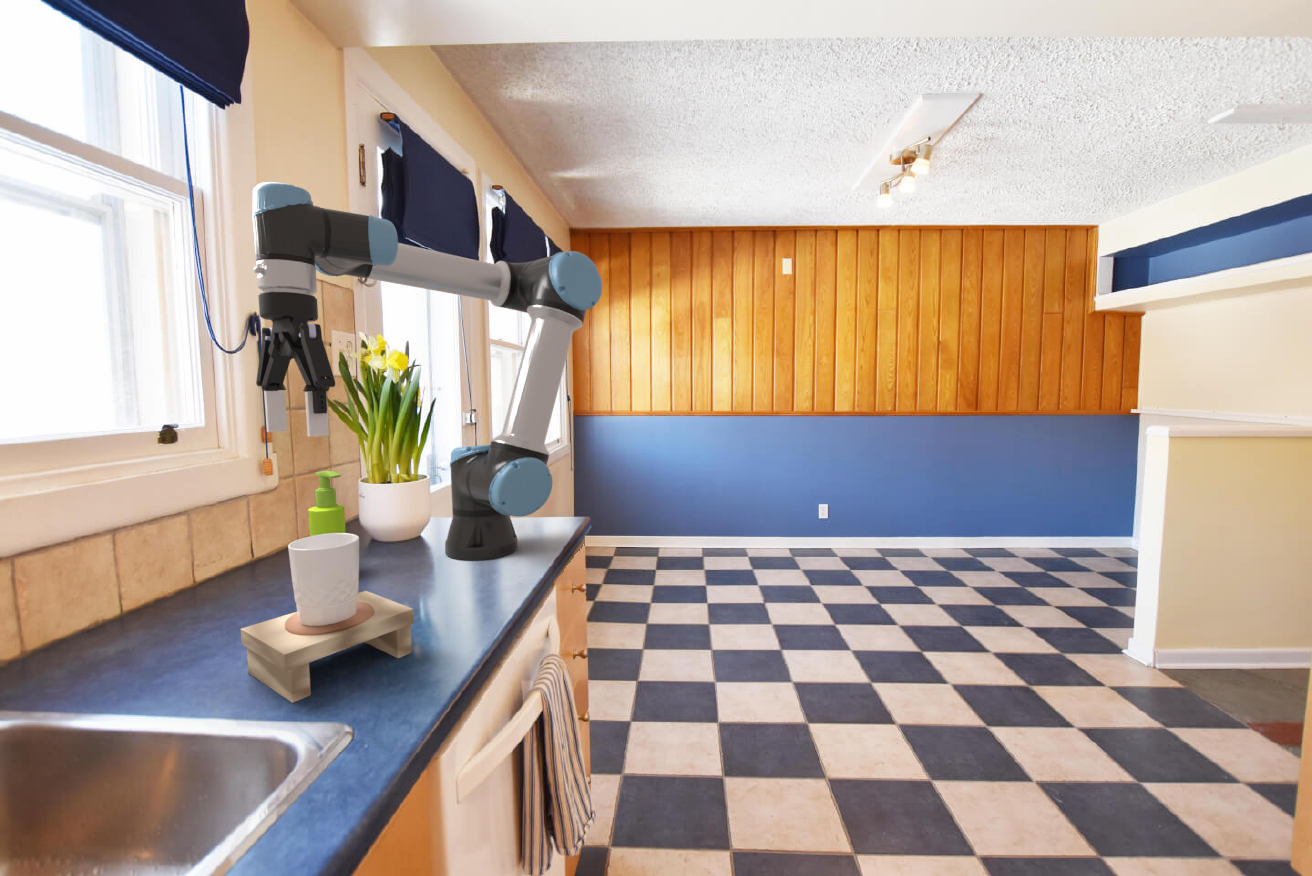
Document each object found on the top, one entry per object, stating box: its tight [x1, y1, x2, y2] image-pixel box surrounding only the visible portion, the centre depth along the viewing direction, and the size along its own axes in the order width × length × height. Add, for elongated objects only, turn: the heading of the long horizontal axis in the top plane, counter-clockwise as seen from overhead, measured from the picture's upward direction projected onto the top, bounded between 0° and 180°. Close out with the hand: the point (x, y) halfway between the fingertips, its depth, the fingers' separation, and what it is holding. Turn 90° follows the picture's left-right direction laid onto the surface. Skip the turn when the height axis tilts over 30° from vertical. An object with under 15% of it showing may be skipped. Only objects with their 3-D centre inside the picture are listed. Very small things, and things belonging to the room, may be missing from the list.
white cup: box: [287, 532, 360, 626], centre depth 75 cm, size 8×8×10 cm
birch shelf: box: [240, 590, 415, 704], centre depth 76 cm, size 16×12×6 cm
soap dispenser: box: [307, 470, 347, 536], centre depth 109 cm, size 6×7×20 cm
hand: (296, 433), depth 89 cm, fingers open, 13 cm apart
